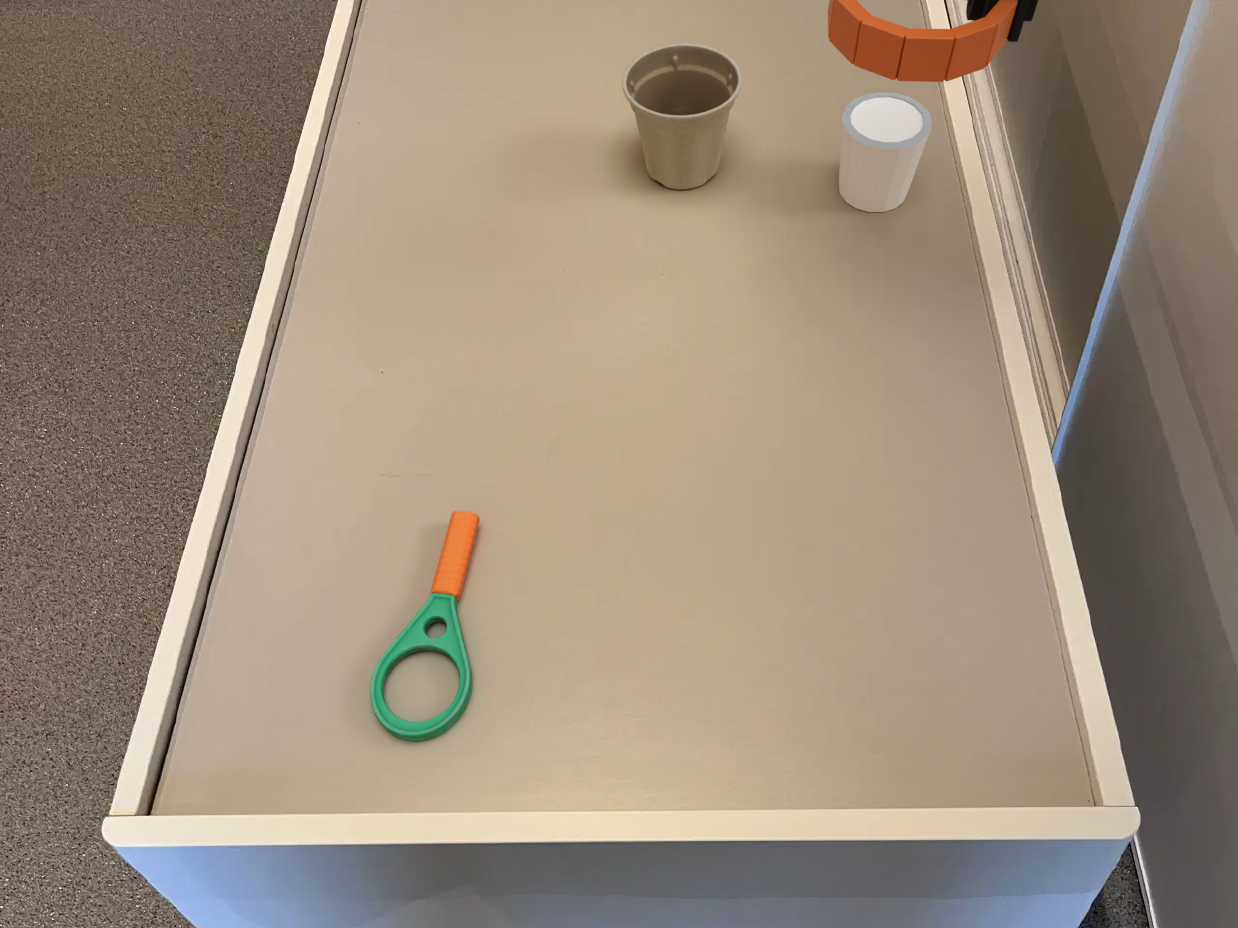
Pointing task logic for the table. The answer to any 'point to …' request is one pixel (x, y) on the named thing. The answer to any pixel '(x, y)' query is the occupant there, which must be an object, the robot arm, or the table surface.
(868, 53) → the ring
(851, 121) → the white cylinder
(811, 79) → the table surface
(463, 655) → the magnifying glass
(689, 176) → the flower pot
